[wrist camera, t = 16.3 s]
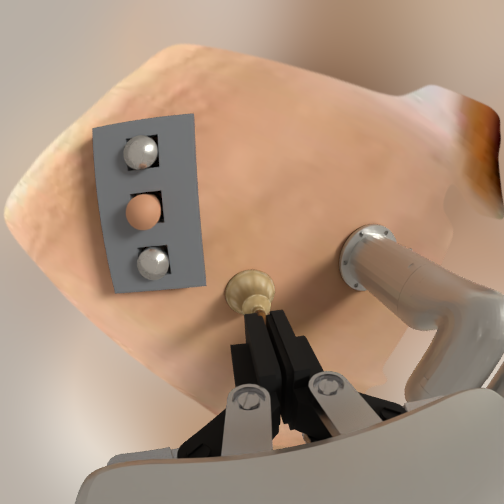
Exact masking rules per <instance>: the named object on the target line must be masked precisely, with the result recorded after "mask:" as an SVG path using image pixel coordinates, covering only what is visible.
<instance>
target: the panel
mask: <svg viewBox="0 0 504 504" xmlns="http://www.w3.org/2000/svg"><path fill="white" fill-rule="evenodd" d="M92 130H93V153H94V167H95V179H96V188H97V197H98V205H99V212H100V219H101V226H102V232H103V238H104V243H105V249H106V254H107V259H108V264H109V268H110V273H111V277H112V282H113V286H114V290H115V293H129V292H142V291H154V290H166V289H178V288H189V287H199V286H206V275H205V265H204V255H203V245H202V234H201V222H200V210H199V196H198V182H197V166H196V147H195V123H194V114H182V115H173V116H164V117H156V118H148V119H141V120H135V121H129V122H123V123H117V124H112V125H107V126H102V127H97V128H92ZM139 135H144V136H147V137H150V138H153V137H158V151H159V167H152V168H145V169H141V170H134V169H133V168H131V167H129V166H128V165H127V163H126V162H125V160H124V156H123V152H124V148H125V145H126V144H127V142H128V141H129V140H130V139H131V138H133V137H135V136H139ZM159 190H161V192H162V203H163V213H164V217H160V218H159V220H158V222H157V223H156V224H155V226H153V227H152V228H150V229H148V230H138V229H136V228H134V227H132V226H131V225H130V223H129V222H128V220H127V218H126V208H127V205H128V203H129V202H130V200H131V199H133V198H134V197H136V196H137V194H136V193H142V192H151V191H159ZM160 245H167V246H168V254H169V261H170V265H169V267H168V271H167V273H166V275H165V276H164V277H162V278H161V279H158V280H149V279H147V278H145V277H143V276H142V275H141V274H140V272H139V270H138V267H137V261H138V258H139V256H140V254H141V253H142V251H143V250H144V248H143V247H150V246H160Z"/></svg>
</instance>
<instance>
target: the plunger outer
mask: <svg viewBox="0 0 504 504" xmlns="http://www.w3.org/2000/svg"><path fill="white" fill-rule="evenodd" d="M123 156H124V160H125V162H126V163H127V165H128V166H129V167H131V168H133V169H137V170H141V169H145V168H148V167H150V166H151V165H152V164H153V163H154V162H155V161H156V160H157V159H158V156H159V151H158V146H157V144H156V143H155V141H154V140H153V139H151V138H150V137H147V136H144V135H139V136H135V137H133V138H131V139H130V140H129V141H128V142H127V144H126V145H125V148H124V152H123Z"/></svg>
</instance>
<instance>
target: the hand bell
mask: <svg viewBox="0 0 504 504" xmlns="http://www.w3.org/2000/svg"><path fill="white" fill-rule="evenodd" d="M274 294H275V287H274V283H273V281H272V279H271V278H270V277H269V276H268V275H267V274H266V273H264V272H262V271H258V270H246V271H243V272H240V273H238V274H237V275H235V276H234V277H233V278H232V279H231V280H230V281H229V283H228V285H227V287H226V292H225V296H226V301H227V303H228V305H229V306H230V307H231V308H232V309H233V310H234V311H236V312H237V313H240V314H243V315H244V314H250V313H257V314H258V316H263V319H264V322H265V325H266V319H265V317H266V315H267V314H268V313H269V311H270V308H271V302H272V300H273V298H274Z"/></svg>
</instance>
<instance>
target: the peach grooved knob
mask: <svg viewBox="0 0 504 504" xmlns="http://www.w3.org/2000/svg"><path fill="white" fill-rule="evenodd" d="M161 209H162V203H161V200H160V199H159V197H158V196H156V195H155V194H152V193H147V194H140V195H137V196H136V197H134V198H133V199H131V200H130V202H129V203H128V205H127V208H126V218H127V220H128V222H129V223H130V225H131V226H132V227H134V228H136V229H138V230H148V229H150V228H152V227H153V226H155V224H156V223H157V222H158V220H159V218H160V215H161Z"/></svg>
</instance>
